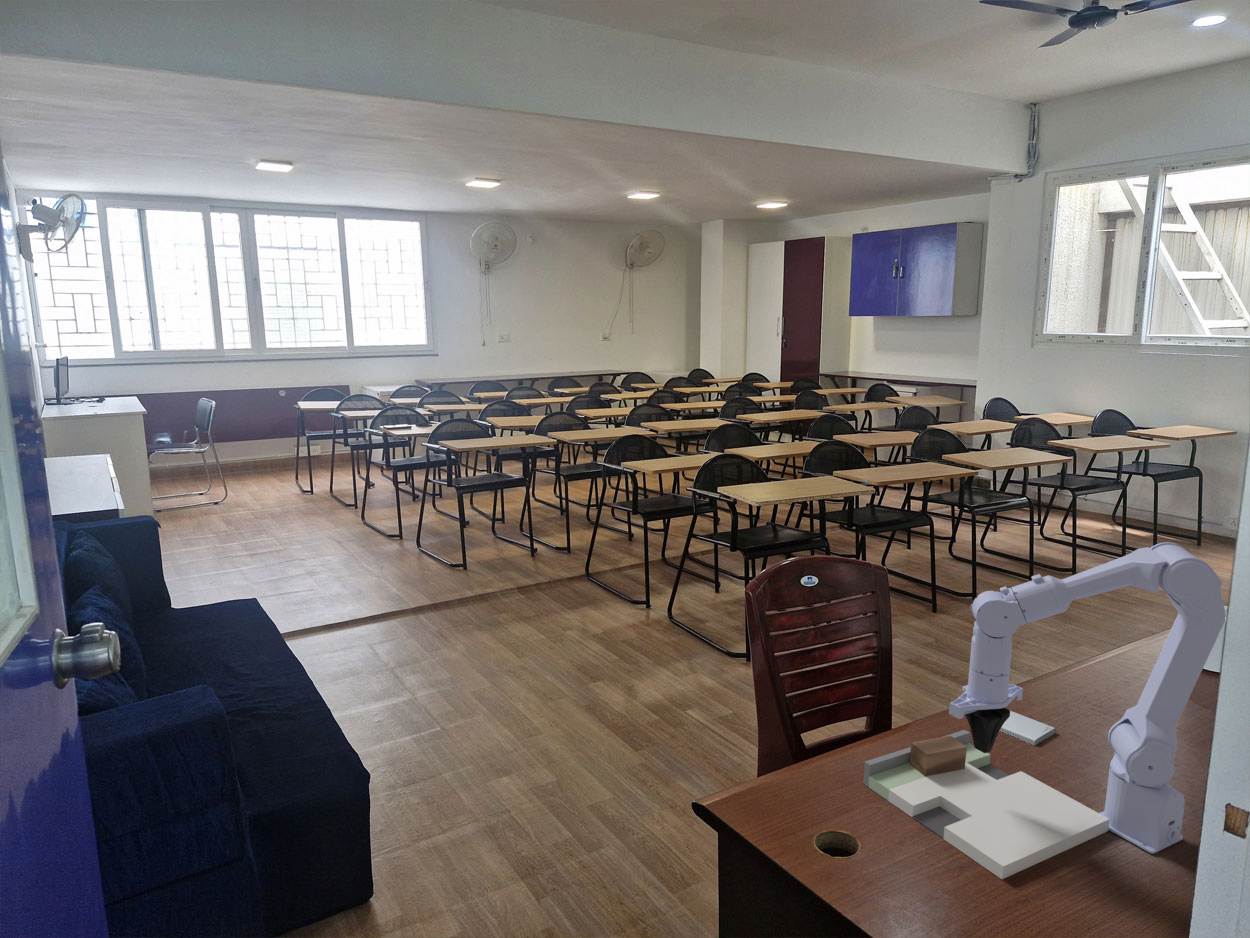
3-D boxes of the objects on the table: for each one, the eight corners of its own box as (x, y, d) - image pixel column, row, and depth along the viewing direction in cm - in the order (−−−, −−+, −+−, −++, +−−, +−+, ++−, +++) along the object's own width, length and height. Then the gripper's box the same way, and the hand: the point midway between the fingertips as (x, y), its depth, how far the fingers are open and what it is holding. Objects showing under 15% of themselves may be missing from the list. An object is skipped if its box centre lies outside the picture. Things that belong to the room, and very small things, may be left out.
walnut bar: (964, 768, 135) (966, 746, 134) (925, 776, 132) (926, 754, 132) (948, 757, 138) (950, 735, 138) (909, 764, 136) (911, 742, 135)
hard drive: (1056, 727, 151) (993, 702, 161) (1035, 740, 146) (971, 714, 156) (1055, 735, 151) (992, 710, 161) (1034, 748, 147) (970, 722, 156)
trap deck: (1108, 831, 121) (1111, 807, 121) (1001, 879, 110) (1004, 853, 110) (962, 750, 145) (964, 729, 144) (863, 783, 134) (864, 761, 133)
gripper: (998, 651, 131) (991, 728, 133) (935, 668, 125) (929, 748, 127) (1037, 667, 125) (1029, 747, 127) (974, 685, 118) (966, 770, 121)
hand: (982, 749), depth 127 cm, fingers closed
